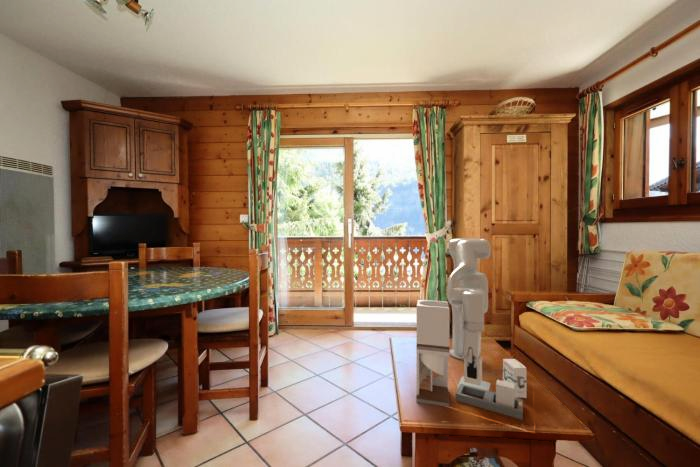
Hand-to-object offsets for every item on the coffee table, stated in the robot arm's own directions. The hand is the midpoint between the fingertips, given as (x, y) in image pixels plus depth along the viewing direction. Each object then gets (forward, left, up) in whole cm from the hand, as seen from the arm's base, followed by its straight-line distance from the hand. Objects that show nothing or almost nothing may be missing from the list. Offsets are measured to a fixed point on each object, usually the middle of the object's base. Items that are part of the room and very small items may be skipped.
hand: (473, 374), depth 105 cm
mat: (-11, -1, -10) cm, 15 cm away
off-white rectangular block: (0, +10, -10) cm, 14 cm away
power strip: (0, +5, -10) cm, 11 cm away
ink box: (-14, +13, -10) cm, 22 cm away
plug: (0, 0, -2) cm, 2 cm away
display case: (+5, -14, -10) cm, 17 cm away
